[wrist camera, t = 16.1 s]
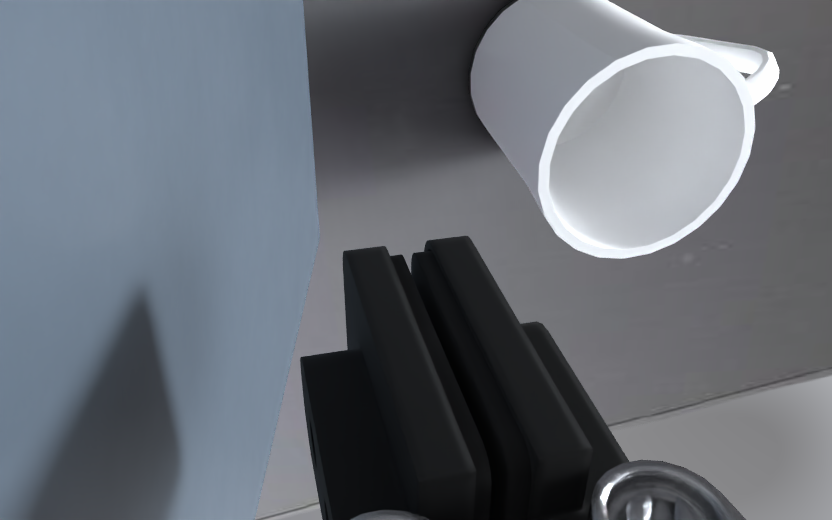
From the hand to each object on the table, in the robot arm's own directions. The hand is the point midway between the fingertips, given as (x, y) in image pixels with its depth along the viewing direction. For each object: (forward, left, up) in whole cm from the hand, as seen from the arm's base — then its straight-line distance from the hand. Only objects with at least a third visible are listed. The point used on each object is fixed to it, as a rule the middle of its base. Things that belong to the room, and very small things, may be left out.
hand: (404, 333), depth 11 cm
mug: (+6, +14, -27) cm, 31 cm away
